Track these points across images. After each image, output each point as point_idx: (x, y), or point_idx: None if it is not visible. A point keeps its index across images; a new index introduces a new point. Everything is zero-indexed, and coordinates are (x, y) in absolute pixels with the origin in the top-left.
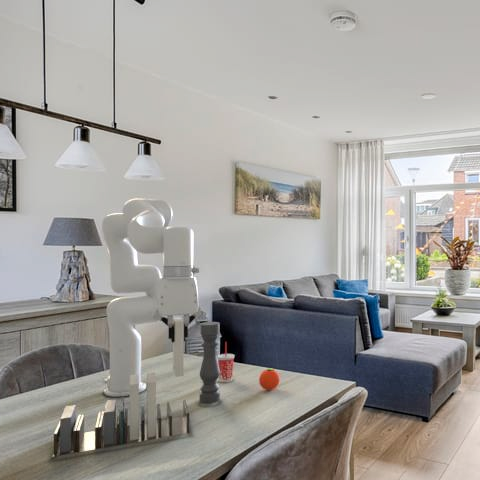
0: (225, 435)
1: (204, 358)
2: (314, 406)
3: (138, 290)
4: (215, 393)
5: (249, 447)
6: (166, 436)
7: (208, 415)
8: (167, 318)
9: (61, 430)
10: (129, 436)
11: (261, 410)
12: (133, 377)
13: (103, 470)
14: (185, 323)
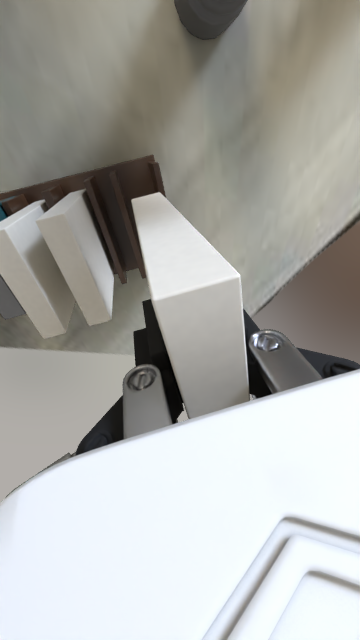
0: (234, 260)
1: None
2: None
3: None
4: (237, 9)
5: (262, 306)
6: (135, 266)
7: (204, 132)
8: (129, 435)
9: None
10: None
11: (325, 131)
12: (9, 270)
13: (72, 345)
14: (261, 397)
